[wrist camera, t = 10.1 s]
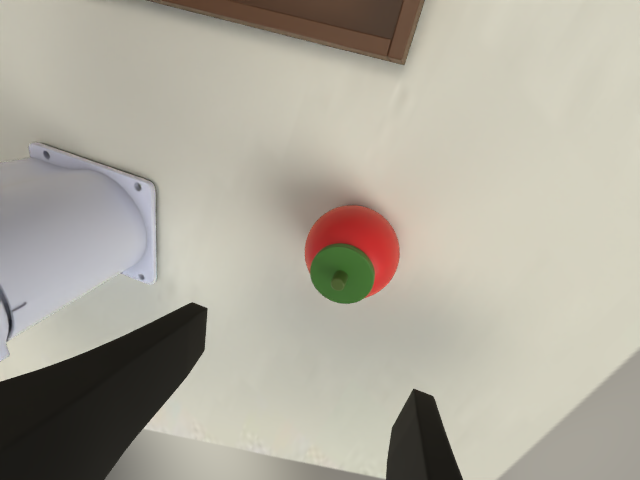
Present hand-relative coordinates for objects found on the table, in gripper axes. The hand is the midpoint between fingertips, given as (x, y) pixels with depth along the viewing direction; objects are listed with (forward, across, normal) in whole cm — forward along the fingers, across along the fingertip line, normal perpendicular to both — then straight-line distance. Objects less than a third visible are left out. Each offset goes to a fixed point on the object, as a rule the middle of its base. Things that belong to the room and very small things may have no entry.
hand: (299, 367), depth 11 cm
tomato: (+9, 0, -1) cm, 9 cm away
